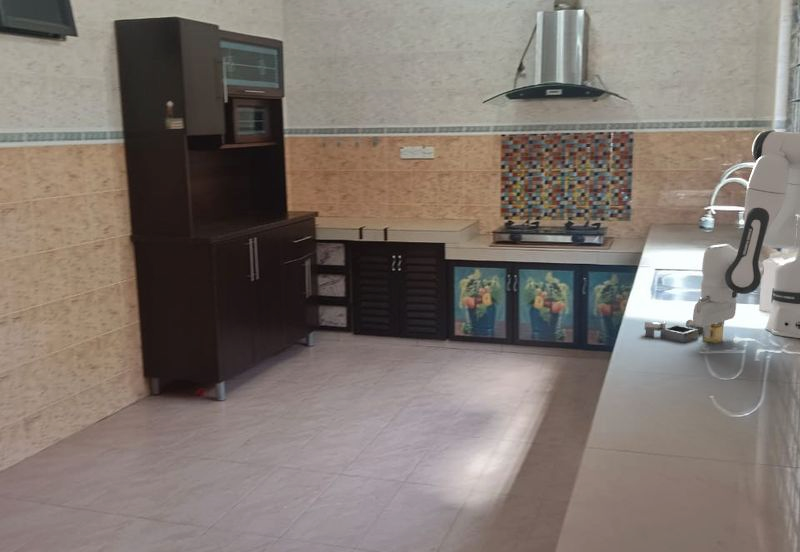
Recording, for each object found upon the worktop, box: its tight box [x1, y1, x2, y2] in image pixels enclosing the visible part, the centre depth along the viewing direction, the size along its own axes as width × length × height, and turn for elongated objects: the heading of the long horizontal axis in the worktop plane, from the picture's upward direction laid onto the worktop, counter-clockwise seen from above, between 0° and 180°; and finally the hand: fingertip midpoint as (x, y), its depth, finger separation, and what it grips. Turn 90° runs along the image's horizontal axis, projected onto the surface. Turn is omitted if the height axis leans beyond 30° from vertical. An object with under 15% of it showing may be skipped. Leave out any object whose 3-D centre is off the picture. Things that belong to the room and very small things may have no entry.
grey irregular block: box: [685, 319, 703, 334], centre depth 273 cm, size 8×4×5 cm, turn 129°
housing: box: [659, 324, 699, 344], centre depth 266 cm, size 8×8×3 cm
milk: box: [758, 251, 785, 313], centre depth 301 cm, size 6×6×22 cm
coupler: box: [701, 323, 724, 344], centre depth 262 cm, size 4×4×6 cm
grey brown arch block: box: [644, 321, 667, 338], centre depth 269 cm, size 6×4×5 cm, turn 74°
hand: (712, 335), depth 263 cm, fingers closed on coupler, 4 cm apart
